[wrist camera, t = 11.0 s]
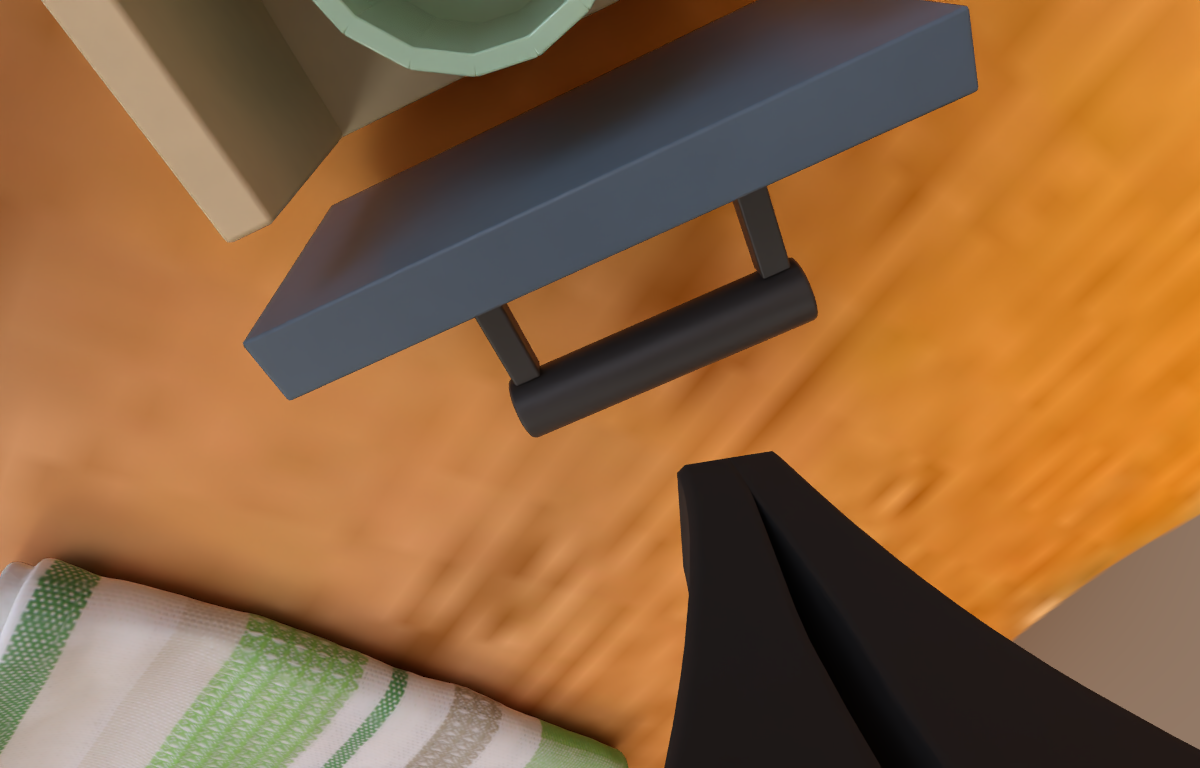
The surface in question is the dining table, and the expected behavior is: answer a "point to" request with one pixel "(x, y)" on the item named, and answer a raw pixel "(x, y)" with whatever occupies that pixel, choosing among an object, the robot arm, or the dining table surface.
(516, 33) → the pale green cup
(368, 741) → the dish towel
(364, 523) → the dining table surface
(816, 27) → the drawer
